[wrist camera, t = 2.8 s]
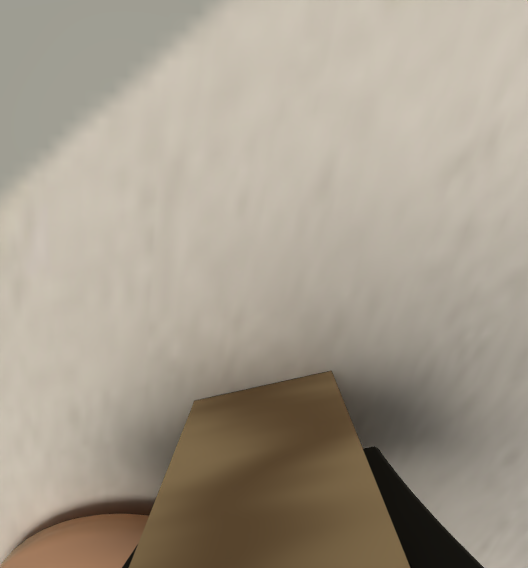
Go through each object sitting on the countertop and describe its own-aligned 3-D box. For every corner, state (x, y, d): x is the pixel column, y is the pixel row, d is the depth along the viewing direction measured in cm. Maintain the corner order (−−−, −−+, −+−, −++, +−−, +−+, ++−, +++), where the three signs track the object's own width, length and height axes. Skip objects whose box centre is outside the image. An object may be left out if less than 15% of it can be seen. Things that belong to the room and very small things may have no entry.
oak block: (331, 370, 10) (418, 586, 4) (356, 484, 11) (452, 775, 5) (194, 400, 10) (101, 637, 5) (232, 507, 12) (195, 805, 6)
